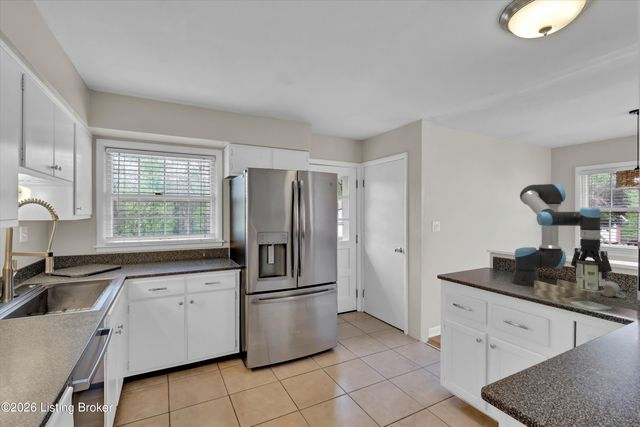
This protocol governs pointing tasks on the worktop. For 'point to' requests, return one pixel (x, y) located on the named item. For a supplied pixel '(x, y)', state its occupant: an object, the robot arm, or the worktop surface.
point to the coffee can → (588, 276)
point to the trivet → (590, 305)
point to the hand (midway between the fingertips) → (590, 283)
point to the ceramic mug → (612, 290)
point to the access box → (560, 291)
